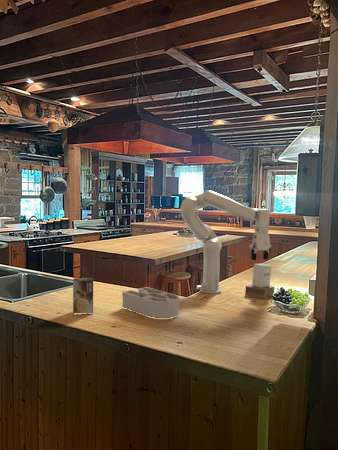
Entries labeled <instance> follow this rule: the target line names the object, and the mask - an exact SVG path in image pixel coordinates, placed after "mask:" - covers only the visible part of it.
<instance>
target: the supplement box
mask: <svg viewBox="0 0 338 450" xmlns="http://www.w3.org/2000/svg"><path fill="white" fill-rule="evenodd" d="M271 271H272V265H270V264H265V263H254V264H253V273H252V282H251V284H252V285H254V286H258V287H261V288H262V287H269V286H271V285H270V284H271V274H272V273H271Z"/></svg>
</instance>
